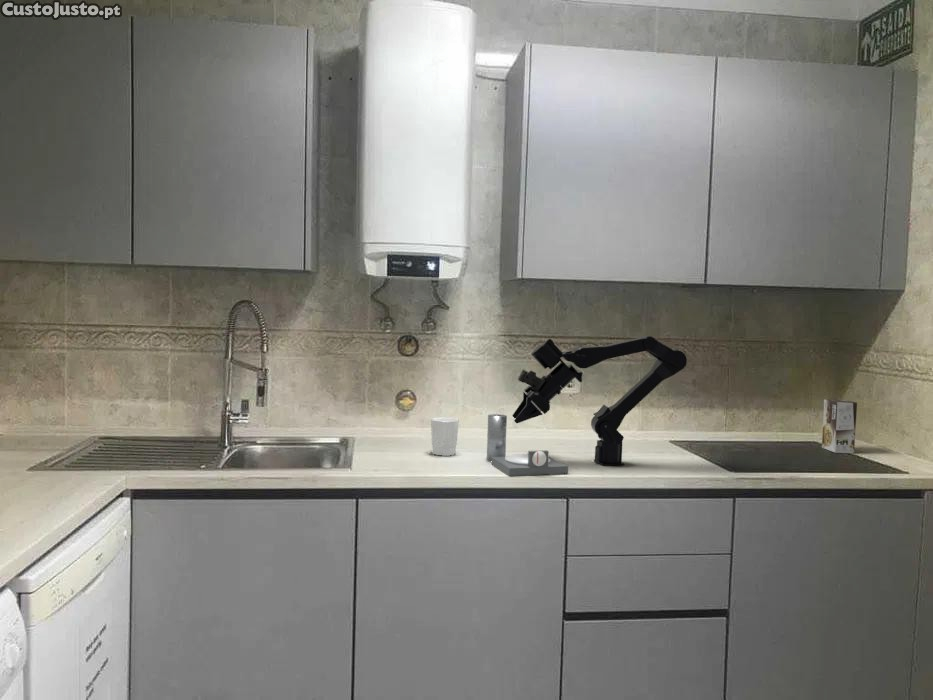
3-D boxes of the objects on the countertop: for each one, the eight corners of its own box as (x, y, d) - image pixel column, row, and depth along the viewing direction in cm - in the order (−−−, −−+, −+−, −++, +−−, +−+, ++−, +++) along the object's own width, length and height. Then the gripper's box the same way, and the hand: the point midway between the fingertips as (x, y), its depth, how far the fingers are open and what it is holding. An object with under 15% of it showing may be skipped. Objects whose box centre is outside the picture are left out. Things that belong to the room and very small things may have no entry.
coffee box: (855, 453, 228) (858, 402, 227) (834, 453, 228) (837, 401, 227) (840, 448, 237) (843, 398, 236) (820, 447, 237) (823, 398, 236)
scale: (546, 462, 201) (547, 440, 201) (567, 473, 188) (568, 450, 187) (491, 464, 197) (492, 442, 196) (509, 476, 183) (510, 452, 183)
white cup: (433, 457, 204) (434, 421, 204) (427, 451, 212) (428, 417, 212) (460, 456, 207) (461, 421, 206) (453, 450, 214) (454, 417, 214)
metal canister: (501, 458, 206) (503, 413, 205) (508, 462, 201) (509, 416, 200) (484, 458, 204) (485, 414, 203) (490, 462, 199) (491, 416, 198)
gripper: (533, 357, 210) (493, 394, 211) (539, 362, 191) (495, 402, 192) (559, 385, 210) (519, 422, 211) (567, 393, 192) (524, 433, 192)
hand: (514, 419), depth 202 cm, fingers open, 9 cm apart
